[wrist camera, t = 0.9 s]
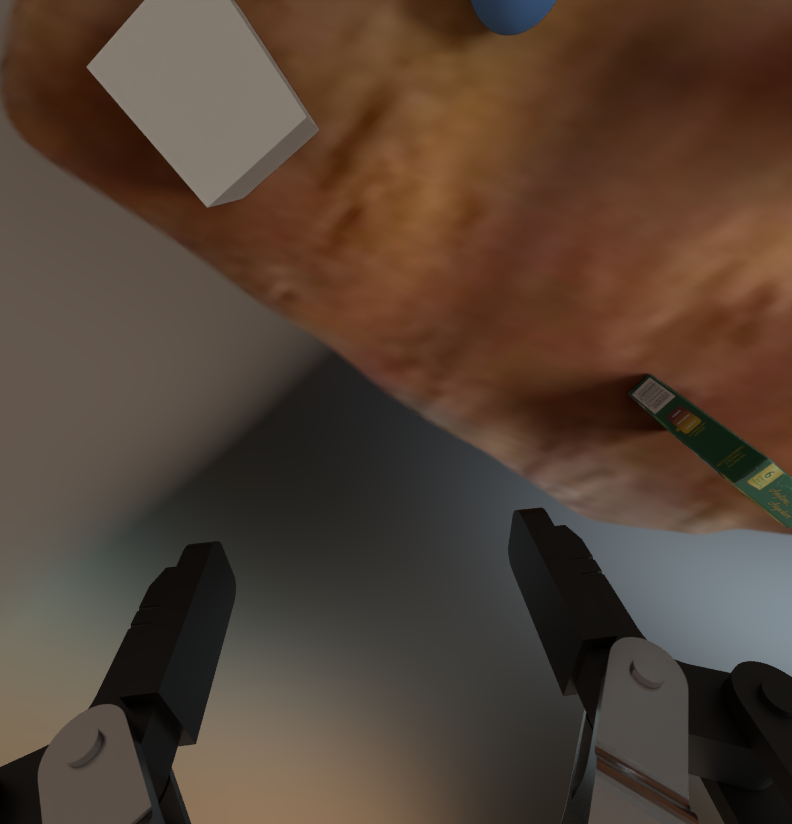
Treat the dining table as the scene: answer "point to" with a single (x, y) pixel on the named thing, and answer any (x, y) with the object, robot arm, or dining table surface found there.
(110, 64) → the block
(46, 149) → the dining table surface
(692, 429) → the coffee box
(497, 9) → the blue egg
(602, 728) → the robot arm
